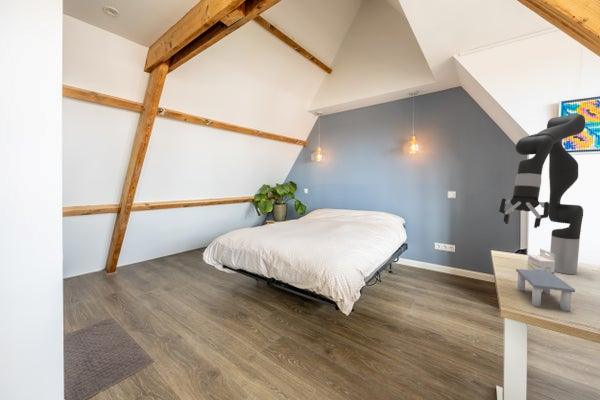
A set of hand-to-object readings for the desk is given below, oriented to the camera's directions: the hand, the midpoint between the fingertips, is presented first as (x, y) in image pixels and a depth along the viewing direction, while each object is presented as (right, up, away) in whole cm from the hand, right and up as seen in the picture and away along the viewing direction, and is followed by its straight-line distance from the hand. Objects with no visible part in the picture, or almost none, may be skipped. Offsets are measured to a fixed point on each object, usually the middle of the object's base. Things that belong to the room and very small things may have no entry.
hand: (520, 225), depth 95 cm
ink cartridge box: (+20, -27, +12) cm, 36 cm away
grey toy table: (+7, -29, -1) cm, 30 cm away
